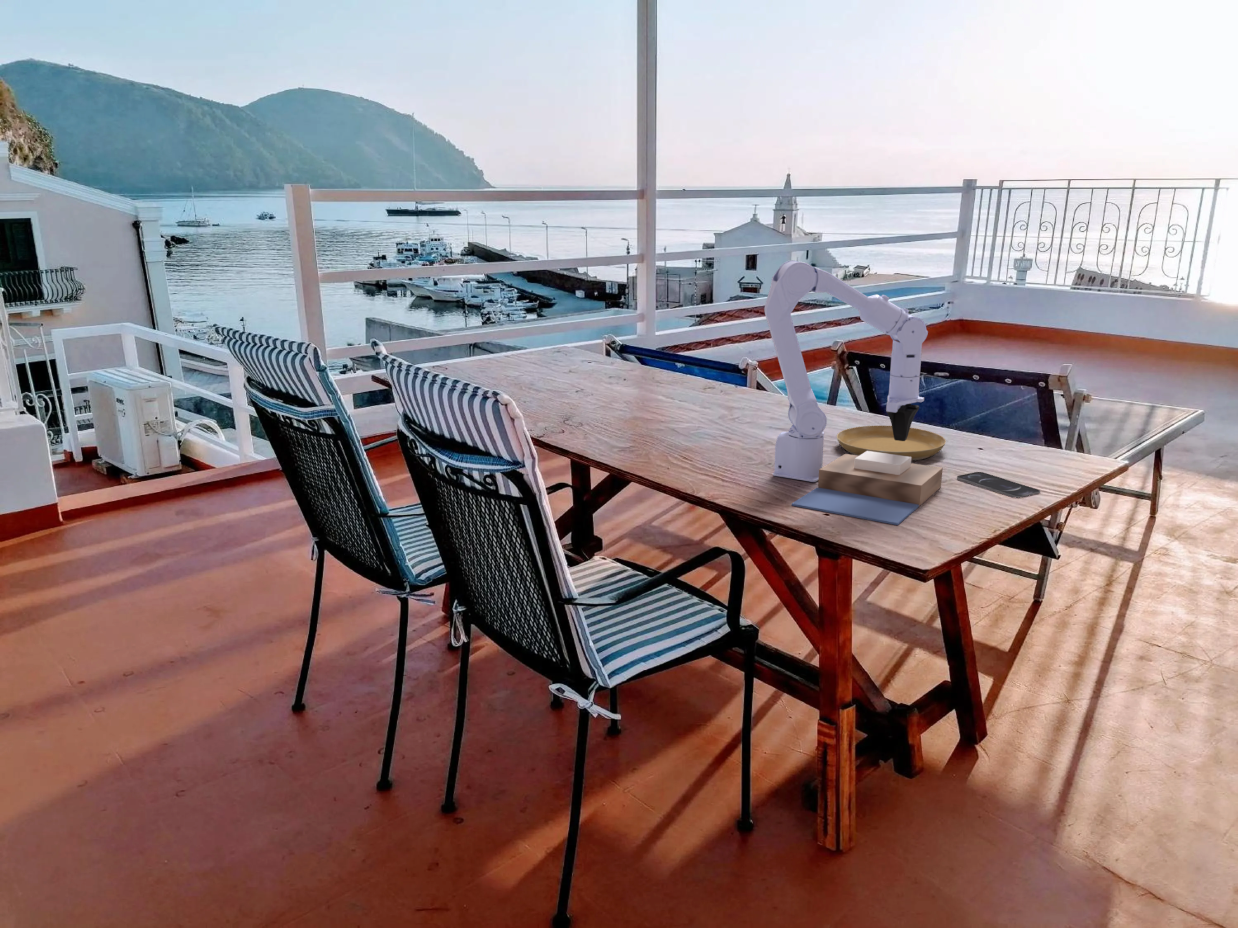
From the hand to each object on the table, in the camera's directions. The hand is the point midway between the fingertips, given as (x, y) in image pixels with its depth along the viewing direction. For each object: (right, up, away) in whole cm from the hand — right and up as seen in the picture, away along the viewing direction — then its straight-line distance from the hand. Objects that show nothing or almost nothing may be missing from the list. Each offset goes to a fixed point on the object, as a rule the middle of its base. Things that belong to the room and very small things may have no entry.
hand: (900, 440), depth 174 cm
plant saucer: (+5, -2, +21) cm, 22 cm away
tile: (-6, -6, -7) cm, 11 cm away
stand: (-6, -10, -7) cm, 13 cm away
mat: (-14, -13, -17) cm, 26 cm away
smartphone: (+17, -10, -6) cm, 21 cm away
